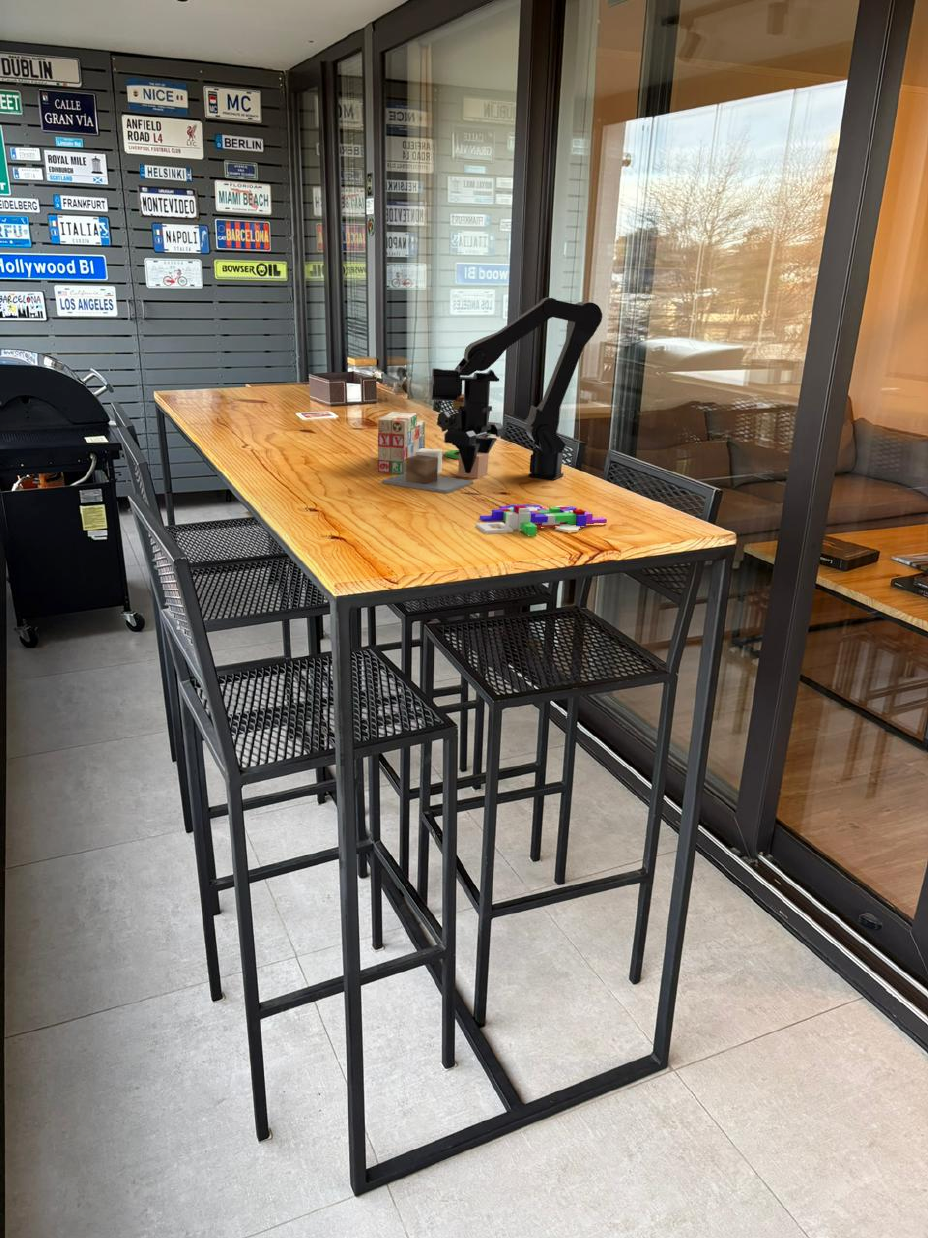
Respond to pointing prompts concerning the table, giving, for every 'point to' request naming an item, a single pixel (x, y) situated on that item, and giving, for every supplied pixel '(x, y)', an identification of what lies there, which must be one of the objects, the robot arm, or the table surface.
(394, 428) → the stack of blocks
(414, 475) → the walnut brick
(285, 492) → the table surface
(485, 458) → the terracotta brick
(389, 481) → the plate
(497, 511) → the building block set
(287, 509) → the table surface
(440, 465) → the offwhite brick
